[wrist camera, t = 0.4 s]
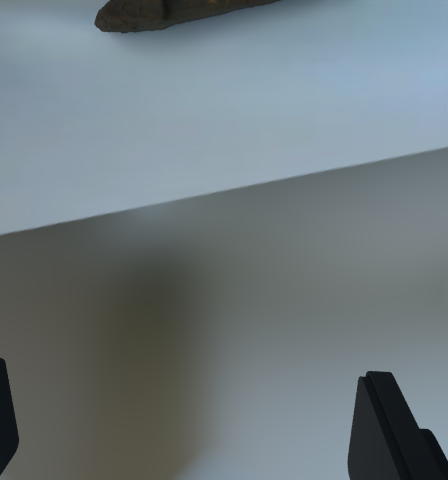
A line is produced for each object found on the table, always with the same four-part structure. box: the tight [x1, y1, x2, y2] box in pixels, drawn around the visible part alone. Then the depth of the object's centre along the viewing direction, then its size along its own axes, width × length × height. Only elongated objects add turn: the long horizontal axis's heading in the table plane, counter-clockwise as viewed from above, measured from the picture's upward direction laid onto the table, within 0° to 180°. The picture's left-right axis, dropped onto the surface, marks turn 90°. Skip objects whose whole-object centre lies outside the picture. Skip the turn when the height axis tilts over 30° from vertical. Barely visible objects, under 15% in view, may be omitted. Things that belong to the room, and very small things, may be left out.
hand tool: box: [94, 0, 279, 33], centre depth 33 cm, size 19×4×5 cm, turn 100°
